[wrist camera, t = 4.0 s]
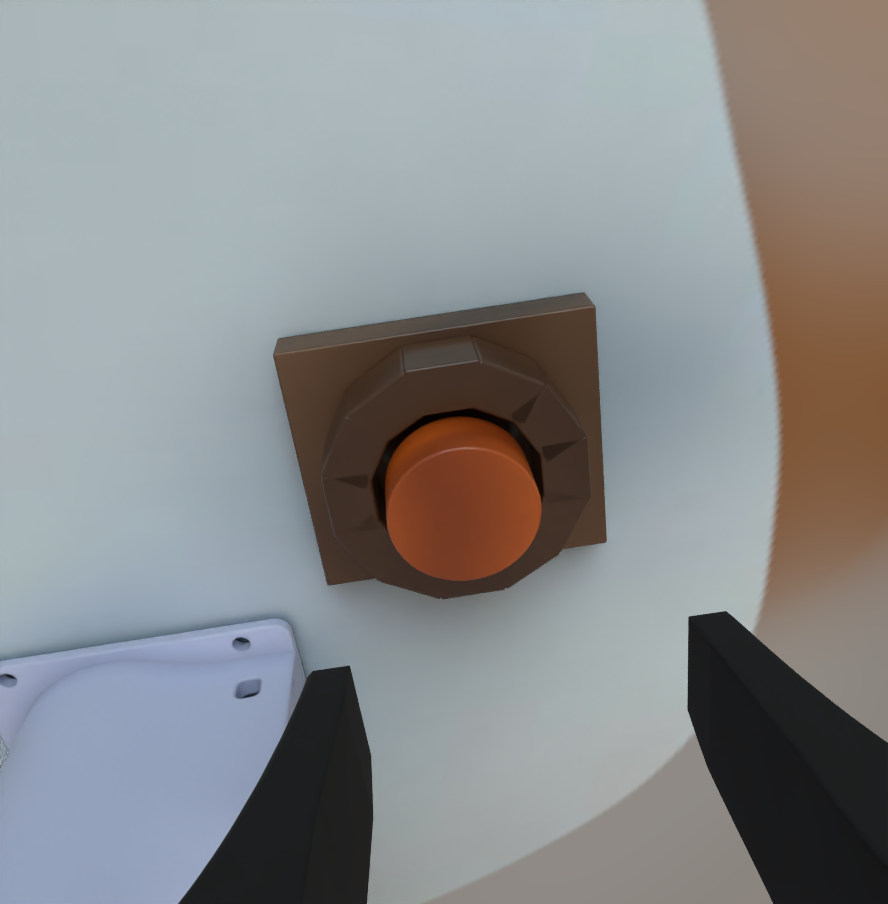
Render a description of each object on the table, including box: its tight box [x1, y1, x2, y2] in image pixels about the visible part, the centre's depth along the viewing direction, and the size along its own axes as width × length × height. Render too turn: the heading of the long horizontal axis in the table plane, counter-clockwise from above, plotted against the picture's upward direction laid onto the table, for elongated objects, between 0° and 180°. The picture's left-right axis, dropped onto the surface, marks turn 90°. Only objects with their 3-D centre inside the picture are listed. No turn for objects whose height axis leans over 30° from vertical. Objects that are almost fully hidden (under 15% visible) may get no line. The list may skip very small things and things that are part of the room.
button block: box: [273, 293, 607, 599], centre depth 22 cm, size 8×7×3 cm
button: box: [385, 416, 542, 581], centre depth 20 cm, size 4×4×2 cm
